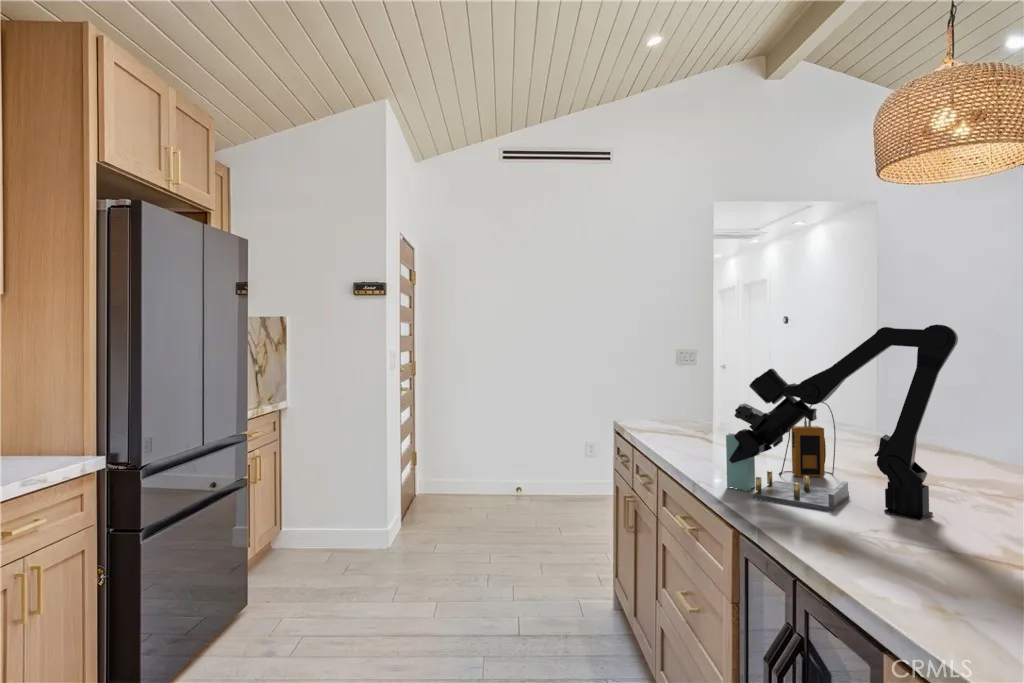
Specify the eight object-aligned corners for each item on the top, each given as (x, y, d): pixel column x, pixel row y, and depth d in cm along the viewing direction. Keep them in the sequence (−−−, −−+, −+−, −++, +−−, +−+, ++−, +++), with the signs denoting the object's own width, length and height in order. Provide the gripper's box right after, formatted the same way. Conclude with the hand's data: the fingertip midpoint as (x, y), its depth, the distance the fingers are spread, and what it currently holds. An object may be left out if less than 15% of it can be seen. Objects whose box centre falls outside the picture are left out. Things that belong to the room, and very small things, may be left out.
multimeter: (822, 469, 154) (821, 397, 154) (839, 477, 144) (838, 401, 144) (767, 468, 155) (766, 397, 155) (781, 477, 145) (780, 401, 145)
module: (755, 486, 136) (754, 432, 135) (748, 491, 132) (746, 435, 132) (734, 483, 139) (733, 430, 139) (727, 487, 135) (726, 433, 135)
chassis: (849, 495, 127) (848, 478, 127) (832, 512, 115) (832, 492, 115) (772, 484, 138) (772, 468, 138) (750, 497, 126) (750, 480, 126)
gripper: (768, 390, 140) (725, 429, 147) (742, 396, 126) (696, 439, 133) (803, 424, 135) (756, 463, 142) (780, 434, 121) (729, 476, 128)
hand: (734, 459), depth 136 cm, fingers closed on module, 5 cm apart
